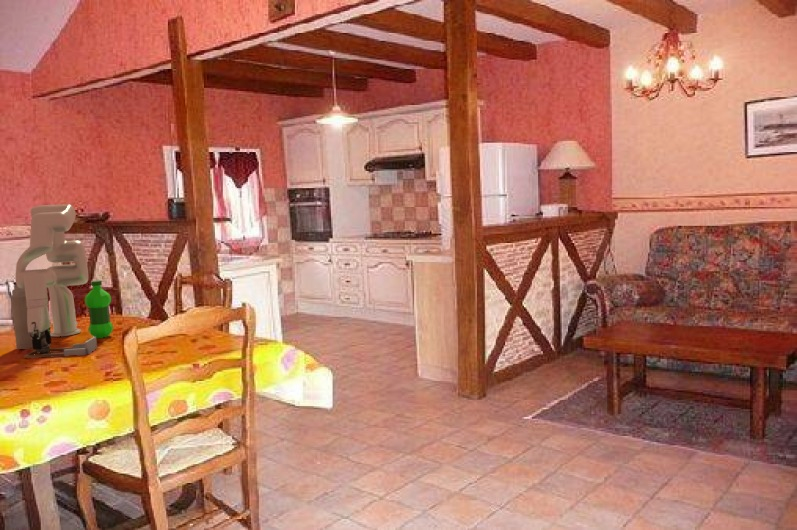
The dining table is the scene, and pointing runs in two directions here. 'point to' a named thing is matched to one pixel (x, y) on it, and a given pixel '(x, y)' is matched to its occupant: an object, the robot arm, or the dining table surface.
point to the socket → (82, 348)
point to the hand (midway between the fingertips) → (42, 346)
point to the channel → (31, 354)
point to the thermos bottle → (20, 318)
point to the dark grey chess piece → (43, 344)
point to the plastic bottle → (99, 310)
